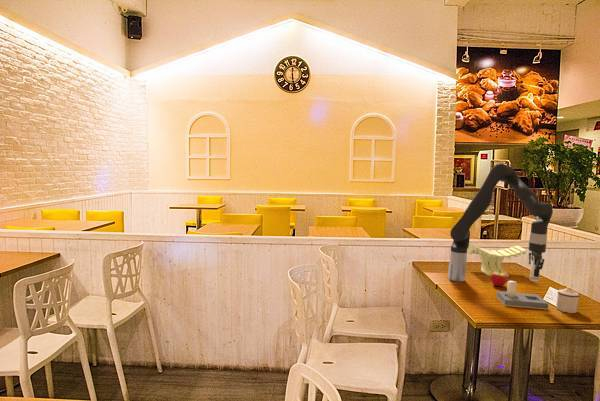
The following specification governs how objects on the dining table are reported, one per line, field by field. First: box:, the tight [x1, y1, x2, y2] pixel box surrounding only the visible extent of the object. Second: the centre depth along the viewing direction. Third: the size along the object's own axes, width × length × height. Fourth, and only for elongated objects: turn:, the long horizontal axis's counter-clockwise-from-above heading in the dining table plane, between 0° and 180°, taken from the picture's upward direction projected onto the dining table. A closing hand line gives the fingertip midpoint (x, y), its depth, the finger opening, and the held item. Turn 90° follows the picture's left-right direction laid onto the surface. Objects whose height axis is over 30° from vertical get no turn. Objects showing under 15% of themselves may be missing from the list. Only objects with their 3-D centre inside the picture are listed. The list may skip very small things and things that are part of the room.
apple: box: [490, 269, 508, 287], centre depth 241 cm, size 8×8×10 cm
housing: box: [495, 290, 549, 310], centre depth 214 cm, size 20×14×3 cm
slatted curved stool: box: [467, 242, 527, 278], centre depth 270 cm, size 30×16×18 cm, turn 85°
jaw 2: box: [528, 260, 541, 283], centre depth 211 cm, size 5×5×10 cm
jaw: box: [506, 280, 517, 298], centre depth 215 cm, size 5×5×10 cm
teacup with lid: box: [555, 286, 580, 314], centre depth 207 cm, size 12×9×12 cm
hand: (534, 275), depth 212 cm, fingers closed on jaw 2, 4 cm apart
